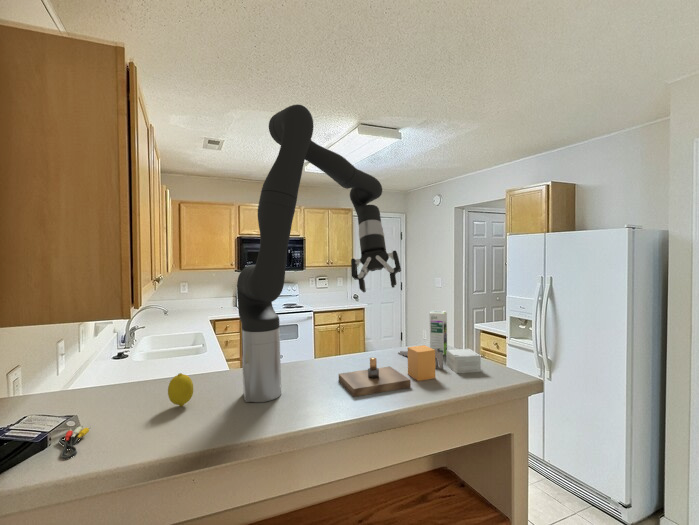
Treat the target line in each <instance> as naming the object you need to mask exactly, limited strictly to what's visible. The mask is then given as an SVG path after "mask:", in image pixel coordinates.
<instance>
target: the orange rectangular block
mask: <svg viewBox="0 0 699 525" xmlns="http://www.w3.org/2000/svg"><path fill="white" fill-rule="evenodd" d="M407 351H408V356H407V375H408V376H410V378H413V379H415V381H417V382H420V381H425V380H426V381H427V380H431V379H433V380H434V379H436V367H435V350H434V349H432V348H430V346H427V345H424V344H423V345H416V346H408V347H407Z"/></svg>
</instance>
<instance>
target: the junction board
mask: <svg viewBox="0 0 699 525" xmlns="http://www.w3.org/2000/svg"><path fill="white" fill-rule="evenodd" d="M377 368H378V369H379V378H376V379H371V378H368V369H363V370H361V369H360V370H356V371H348V372H343V373H342V372H341V373H338V382H339V381H340V382H339V383H340V384H341V385H342V386H343V387H344V388H345V389H346V390H347V391H348V392H349V393H350V395H352V397H354V398H357V397H361V396H367V395H373V394H379V393H385V392H391V391H396V390H403V389H407V388H411V387H412V386H411V384H412V383H411V379H410V378H409V377H408V376H406V375H404V374H403V373H401V372H399V371H397V369H394V368H393V367H391V365H390V366H384V367H383V366H382V367H377Z"/></svg>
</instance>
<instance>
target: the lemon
mask: <svg viewBox="0 0 699 525" xmlns="http://www.w3.org/2000/svg"><path fill="white" fill-rule="evenodd" d="M193 395H194V382H193V381H192V378H191V377H190V376H188V375H187V374H184V373H181V372H180V373H178V374H177V375H175V376H174V377H173V378H172V379H170V382H169V383H168V389H167V396H168V398H169V401H170V402H171V403H172V404H174V405H176V406H177V405H178V407H183V406H184V405H185V404H187V403H188V402H189V401H190V400H191V399H192V397H193Z"/></svg>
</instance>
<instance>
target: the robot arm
mask: <svg viewBox="0 0 699 525" xmlns="http://www.w3.org/2000/svg"><path fill="white" fill-rule="evenodd" d="M313 118H314V117H313V116H312V114H311V111H310V110H309V108H308V107H306V106H305V105H302V104H293V105H289V106H288V107H286V108H283V109H281V110H280V111H278V112H276V113H275V114H274V115H272V116H271V117H270V119H269V121H268V132H269V134H270V136H271V138H272V139H273V141H275V143H277V144H278V145H280V147H279V152H278V154H277V157H276V159H275V161H274V163H273V165H272V166H271V168H270V169H269V171H268V174H267V176H266V177H265V179H264V182H263V184H262V186H261V190H260V196H259V201H258V205H257V206H258V207H257V223H258V224H257V225H258V229H259V235H260V236H259V237H260V240H259V241H260V243H259V249H258V254H257V258H256V263H255V264H251V265H248V266H245V267H244V268H243V269H242V270H241V271H240V273H239V275H238V277H237V280H236V294H237V295H236V296H237V308H238V310H237V312H238V316H239V320H240V322H241V334H242V337H241V340H242V358H241V359H242V360H241V361H242V385H243V387H242V389H243V391H242V392H243V398H244V402H245V403H249V402H252V403H265V402H269V401H274V400H276V399H277V398H279V397H280V396H281V395H282V370H281V368H282V366H281V365H282V364H281V332H280V331H281V329H280V317H279V315H278V314H277V312H276V310H275V309H274V306H273V302H275V301H276V300H277V299H278V298H279V297H280V295H281V294H282V292H283V290H284V284H285V279H286V268H287V267H286V265H287V254H288V247H289V242H290V236H291V233H292V232H291V231H292V225H293V220H294V216H295V212H296V207H297V201H298V197H299V196H298V195H299V190H300V189H299V188H300V184H301V180H302V174H303V169H304V163H305V161H307V162H308V163H310V164H312V165H313V166H314V167H316V168H317V169H319V170H320V171H322V172H323V173H325V175H327V176H328V177H330V178H331V179H332V180H333V181H334V182H335V183H337V184H338V185H339V186H340V187H342V188H343V189H347V190H348V189H350V190H349V198H350V201H351V204H352V205H353V207H354V211H355V212H356V213H355V214H356V216H357V223H358V224H357V225H358V237H359V248H360V258H357V259H355V258H351V259H350V263H351V264H350V265H351V278H352V279H353V280H355V281H356V280H357V281H358V286H359V290H360V291H361V292H363V293H366V292H367V289H366V282H365V278H366V276H367V275H368V274H369V272H374V271H381V270H382V269H385V270H386V271H387V272H389V279H390V285H391V288H392V289H393V288H394V289H395V286H397V277H396V274H398V273H400V272H402V268H401V263H400V258H399V254H398V252H397V250H392V252H389V253H388V252H387V247H386V240H385V233H384V228H383V224H382V218H381V212H380V208H379V207H378V206H376V205H374V204H369V203H371V202H373V201H375V200H377V199H379V198H380V197H381V196H382V195H383V186H382V184H381V182H380V181H379V180H378V179H377V178H376V176H373V175H371V174H369V173H367V172H365V171H362V170H361V169H358V168H356V167H355V166H354V165H353V164H352V163H351V162H350V161H349V160H347V159H346V158H345V157H344V156H343V155H341V154H339V153H338V152H335V151H333V150H332V149H329V148H327V147H324V146H322V145H320V144H318V143H316V142H315V141H314V140H312V138H313V134H314V128H315V127H314V119H313ZM389 258H390V259H391V261H393V262H394V266H395V267H394V268H393V267H392V266H391V265H390V264H389V263H388V260H389ZM360 264H362V267H361V269H360V271H359V273H358V267H360Z"/></svg>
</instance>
